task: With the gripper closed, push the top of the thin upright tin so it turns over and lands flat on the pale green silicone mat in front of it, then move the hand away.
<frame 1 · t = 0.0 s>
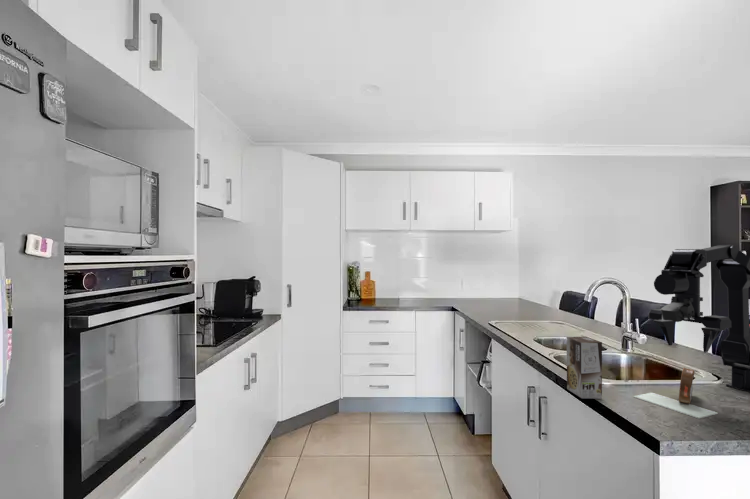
hand: (687, 348, 118), 15 cm above the counter, tool pointing down, fingers open, 9 cm apart
coffee box: (583, 394, 124), on the counter
mat: (673, 405, 115), on the counter
tin: (686, 400, 118), on the counter, touching mat
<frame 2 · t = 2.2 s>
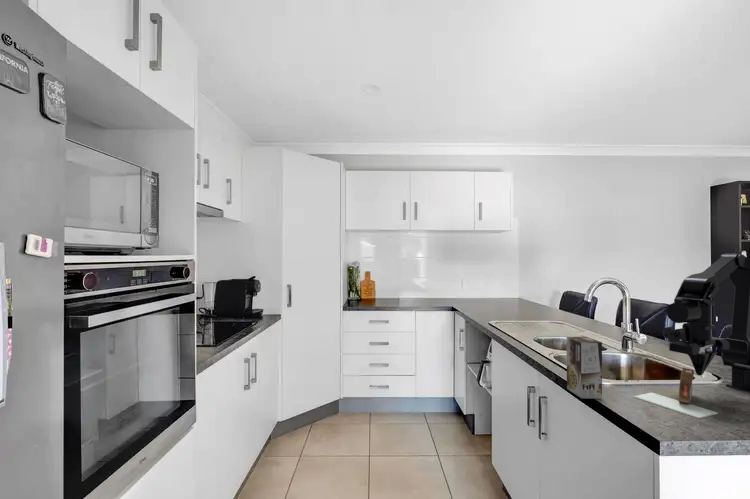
hand: (699, 375, 121), 7 cm above the counter, tool pointing down, fingers closed
nothing on the counter moved.
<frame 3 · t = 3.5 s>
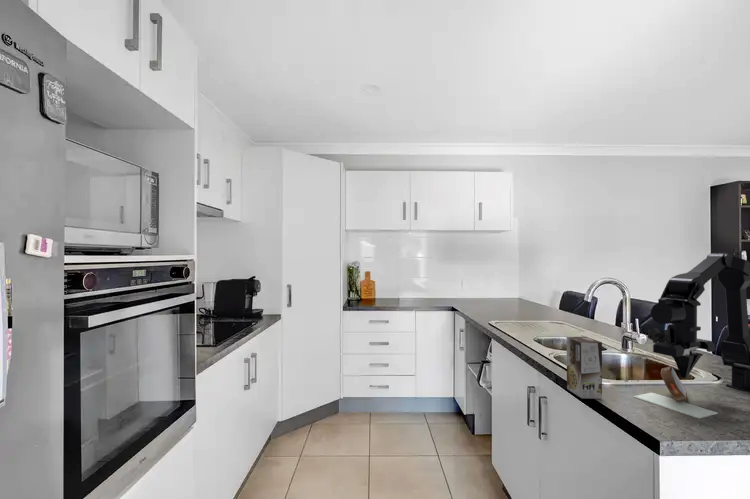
hand: (684, 377, 118), 7 cm above the counter, tool pointing down, fingers closed
tin: (684, 398, 118), point 1 cm above the counter, touching mat
everything else where it was.
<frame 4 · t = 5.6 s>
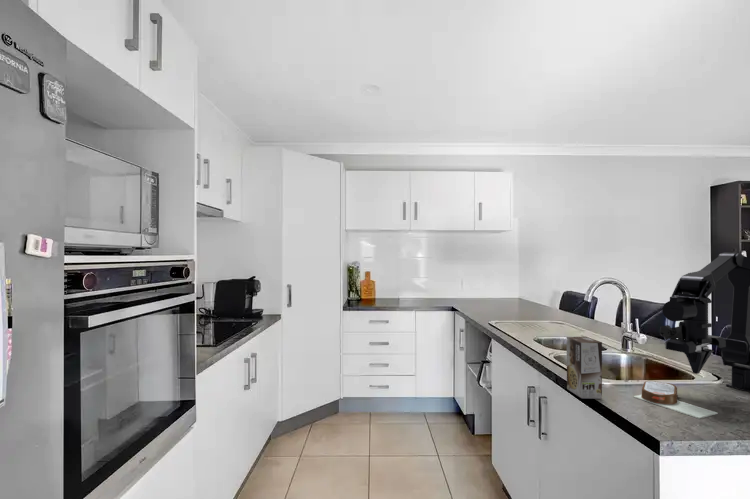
hand: (695, 373, 121), 7 cm above the counter, tool pointing down, fingers closed
tin: (678, 393, 118), point 2 cm above the counter, touching mat
everything else where it was.
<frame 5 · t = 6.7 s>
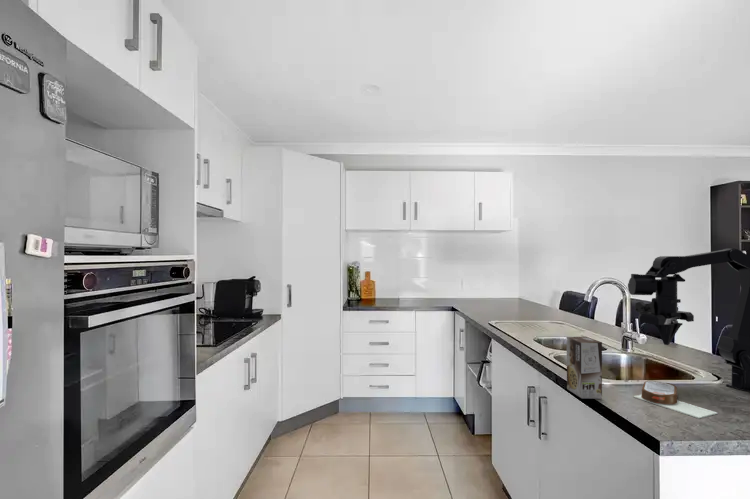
hand: (666, 344, 133), 13 cm above the counter, tool pointing down, fingers closed
nothing on the counter moved.
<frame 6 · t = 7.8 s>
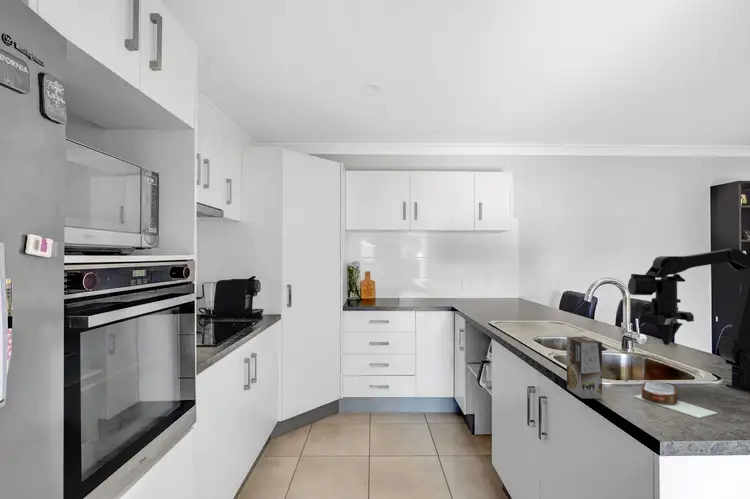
hand: (666, 344, 133), 12 cm above the counter, tool pointing down, fingers closed
nothing on the counter moved.
at the end: tin tilted 94°; tin inside the target area (4.7 cm from its centre), point 1.9 cm above the counter; the gripper is holding nothing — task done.
